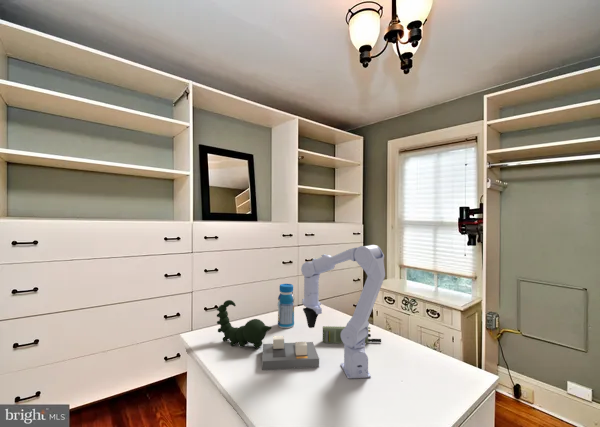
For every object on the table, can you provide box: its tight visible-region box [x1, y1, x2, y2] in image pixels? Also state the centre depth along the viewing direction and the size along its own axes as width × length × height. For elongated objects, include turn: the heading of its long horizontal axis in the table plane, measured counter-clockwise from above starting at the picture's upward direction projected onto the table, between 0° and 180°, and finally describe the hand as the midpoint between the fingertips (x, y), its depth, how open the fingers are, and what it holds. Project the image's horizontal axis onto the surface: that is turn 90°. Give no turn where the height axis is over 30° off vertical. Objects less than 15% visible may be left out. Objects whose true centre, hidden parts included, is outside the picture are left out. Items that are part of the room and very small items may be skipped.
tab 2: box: [294, 341, 307, 356], centre depth 104 cm, size 3×4×4 cm
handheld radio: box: [322, 325, 382, 344], centre depth 121 cm, size 7×3×25 cm
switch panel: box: [261, 341, 320, 371], centre depth 106 cm, size 14×20×3 cm
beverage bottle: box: [277, 283, 296, 329], centre depth 140 cm, size 8×8×20 cm
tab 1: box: [272, 335, 285, 349], centre depth 109 cm, size 3×4×4 cm
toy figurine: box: [216, 299, 272, 349], centre depth 118 cm, size 9×19×25 cm
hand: (311, 327), depth 111 cm, fingers closed
